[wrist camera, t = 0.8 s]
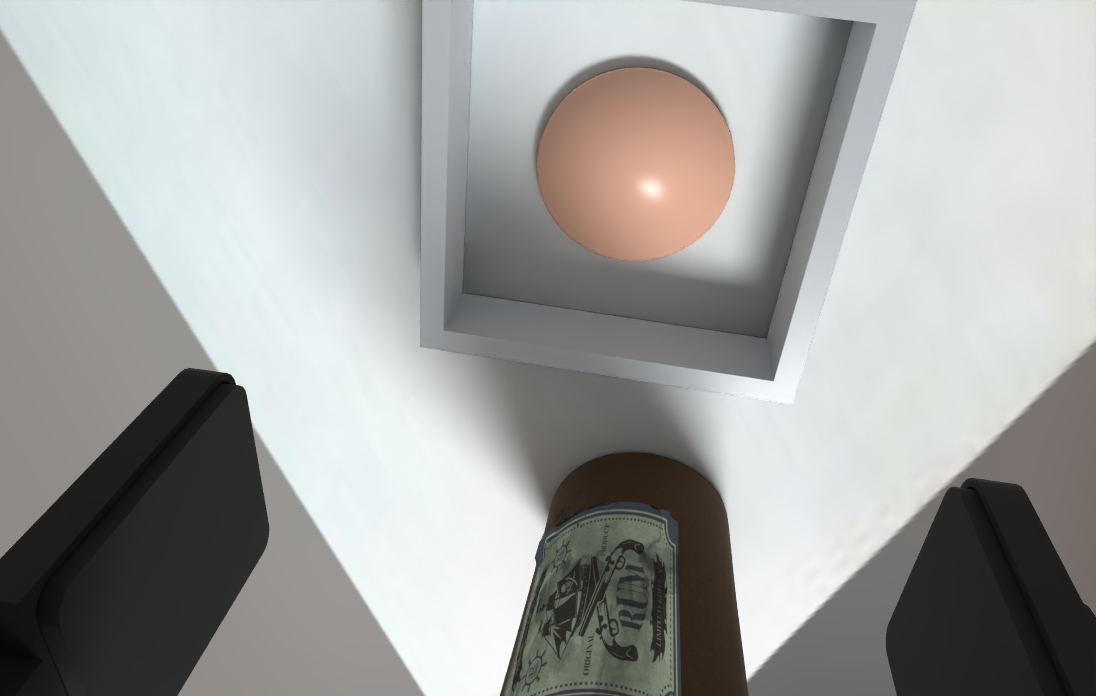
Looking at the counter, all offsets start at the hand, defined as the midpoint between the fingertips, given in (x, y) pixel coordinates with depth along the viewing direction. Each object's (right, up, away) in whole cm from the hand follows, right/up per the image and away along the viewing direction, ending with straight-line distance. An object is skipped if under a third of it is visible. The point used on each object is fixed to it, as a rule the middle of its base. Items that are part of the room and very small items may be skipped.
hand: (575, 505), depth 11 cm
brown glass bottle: (+4, -7, +32) cm, 33 cm away
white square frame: (+3, +10, +22) cm, 24 cm away
